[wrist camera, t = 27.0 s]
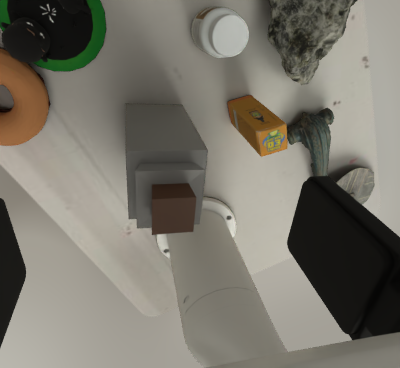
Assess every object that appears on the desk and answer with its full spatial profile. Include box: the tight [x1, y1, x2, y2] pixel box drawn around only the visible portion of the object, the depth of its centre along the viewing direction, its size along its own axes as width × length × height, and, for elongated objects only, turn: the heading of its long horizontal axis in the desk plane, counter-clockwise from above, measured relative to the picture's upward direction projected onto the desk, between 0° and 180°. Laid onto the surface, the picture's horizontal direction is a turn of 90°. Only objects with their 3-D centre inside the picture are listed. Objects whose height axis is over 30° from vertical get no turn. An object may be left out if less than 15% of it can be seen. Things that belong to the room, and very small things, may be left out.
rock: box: [267, 0, 357, 85], centre depth 31 cm, size 12×8×10 cm
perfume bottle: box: [126, 104, 208, 235], centre depth 30 cm, size 7×7×18 cm
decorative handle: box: [287, 108, 334, 176], centre depth 42 cm, size 15×7×5 cm, turn 27°
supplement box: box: [227, 95, 287, 157], centre depth 34 cm, size 3×4×10 cm
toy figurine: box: [0, 0, 106, 71], centre depth 27 cm, size 10×10×6 cm
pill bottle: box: [191, 7, 249, 58], centre depth 30 cm, size 4×4×8 cm
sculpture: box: [336, 168, 374, 205], centre depth 49 cm, size 12×9×8 cm
